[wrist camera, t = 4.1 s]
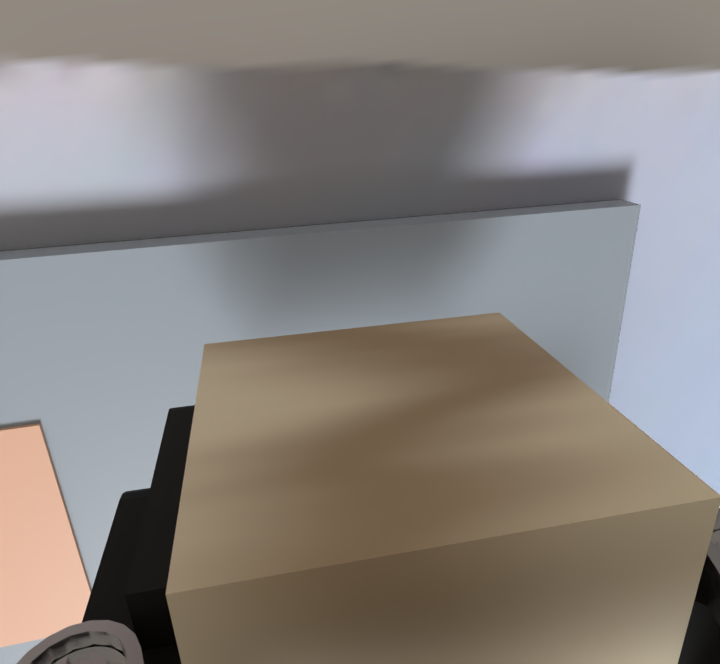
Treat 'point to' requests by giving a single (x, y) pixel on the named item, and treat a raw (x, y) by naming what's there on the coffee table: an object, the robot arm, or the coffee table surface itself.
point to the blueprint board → (241, 322)
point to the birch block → (426, 507)
